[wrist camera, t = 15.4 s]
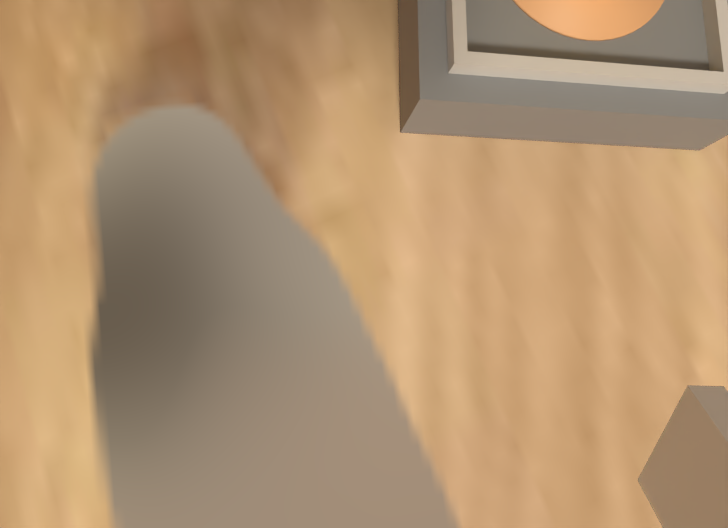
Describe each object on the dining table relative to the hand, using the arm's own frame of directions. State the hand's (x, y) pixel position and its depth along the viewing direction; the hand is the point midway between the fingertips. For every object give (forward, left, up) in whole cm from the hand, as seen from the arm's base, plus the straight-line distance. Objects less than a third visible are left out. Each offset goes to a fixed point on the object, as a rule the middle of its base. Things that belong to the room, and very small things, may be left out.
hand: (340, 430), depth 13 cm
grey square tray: (+8, +32, -27) cm, 43 cm away
